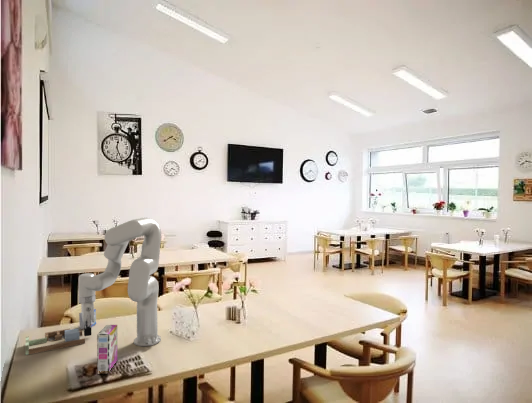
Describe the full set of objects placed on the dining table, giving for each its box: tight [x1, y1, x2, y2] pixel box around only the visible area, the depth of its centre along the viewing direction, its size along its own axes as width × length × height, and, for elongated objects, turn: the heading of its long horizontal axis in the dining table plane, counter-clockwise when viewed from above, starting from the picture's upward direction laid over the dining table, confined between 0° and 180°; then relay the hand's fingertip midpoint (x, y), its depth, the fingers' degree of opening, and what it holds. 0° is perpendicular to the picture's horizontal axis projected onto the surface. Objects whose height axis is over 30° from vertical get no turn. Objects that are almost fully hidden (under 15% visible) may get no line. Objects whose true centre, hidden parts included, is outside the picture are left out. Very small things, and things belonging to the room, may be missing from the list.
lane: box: [25, 328, 86, 356], centre depth 183 cm, size 18×24×4 cm
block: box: [64, 327, 81, 342], centre depth 184 cm, size 6×6×5 cm
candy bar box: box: [96, 324, 118, 372], centre depth 156 cm, size 11×5×16 cm, turn 5°
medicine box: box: [78, 308, 97, 330], centre depth 203 cm, size 8×4×9 cm, turn 168°
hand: (87, 335), depth 188 cm, fingers closed
